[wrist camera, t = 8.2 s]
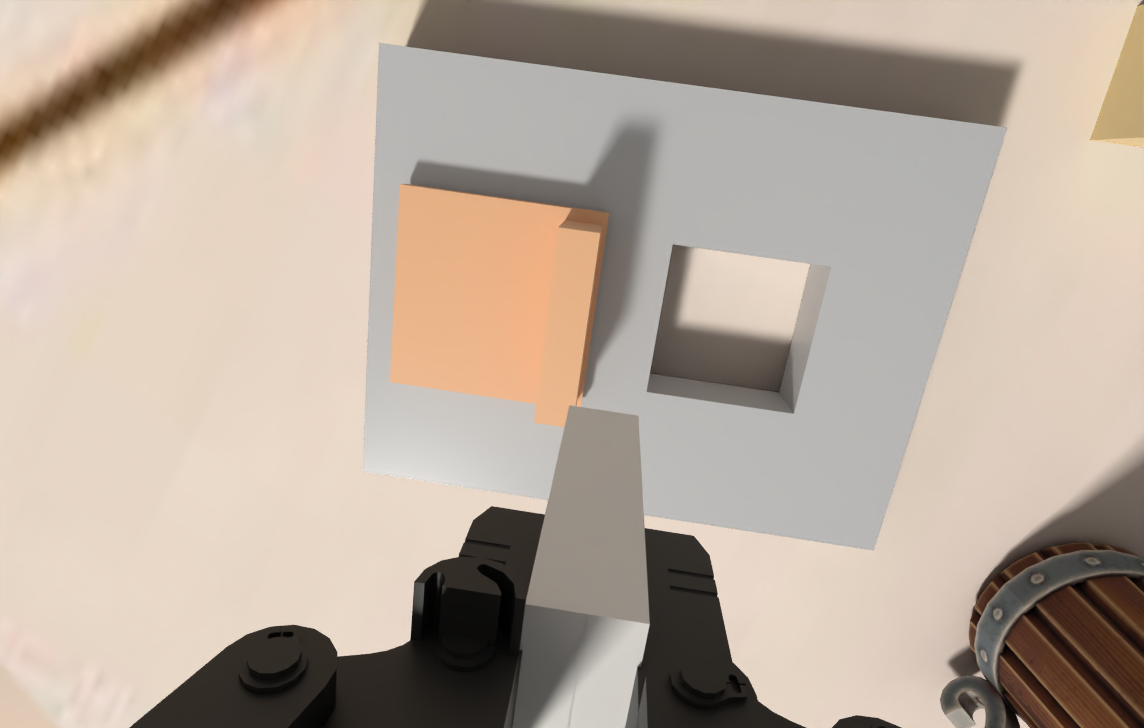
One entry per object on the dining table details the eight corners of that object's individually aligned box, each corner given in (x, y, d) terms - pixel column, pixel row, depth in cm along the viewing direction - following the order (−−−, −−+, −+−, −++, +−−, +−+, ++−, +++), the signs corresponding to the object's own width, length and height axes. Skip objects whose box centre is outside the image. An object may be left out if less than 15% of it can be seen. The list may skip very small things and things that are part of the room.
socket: (402, 54, 30) (379, 42, 27) (969, 130, 29) (1006, 127, 26) (383, 447, 36) (362, 471, 33) (853, 519, 35) (873, 550, 32)
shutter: (405, 183, 28) (370, 186, 24) (609, 212, 28) (607, 220, 24) (395, 376, 31) (362, 408, 27) (581, 404, 31) (575, 440, 27)
